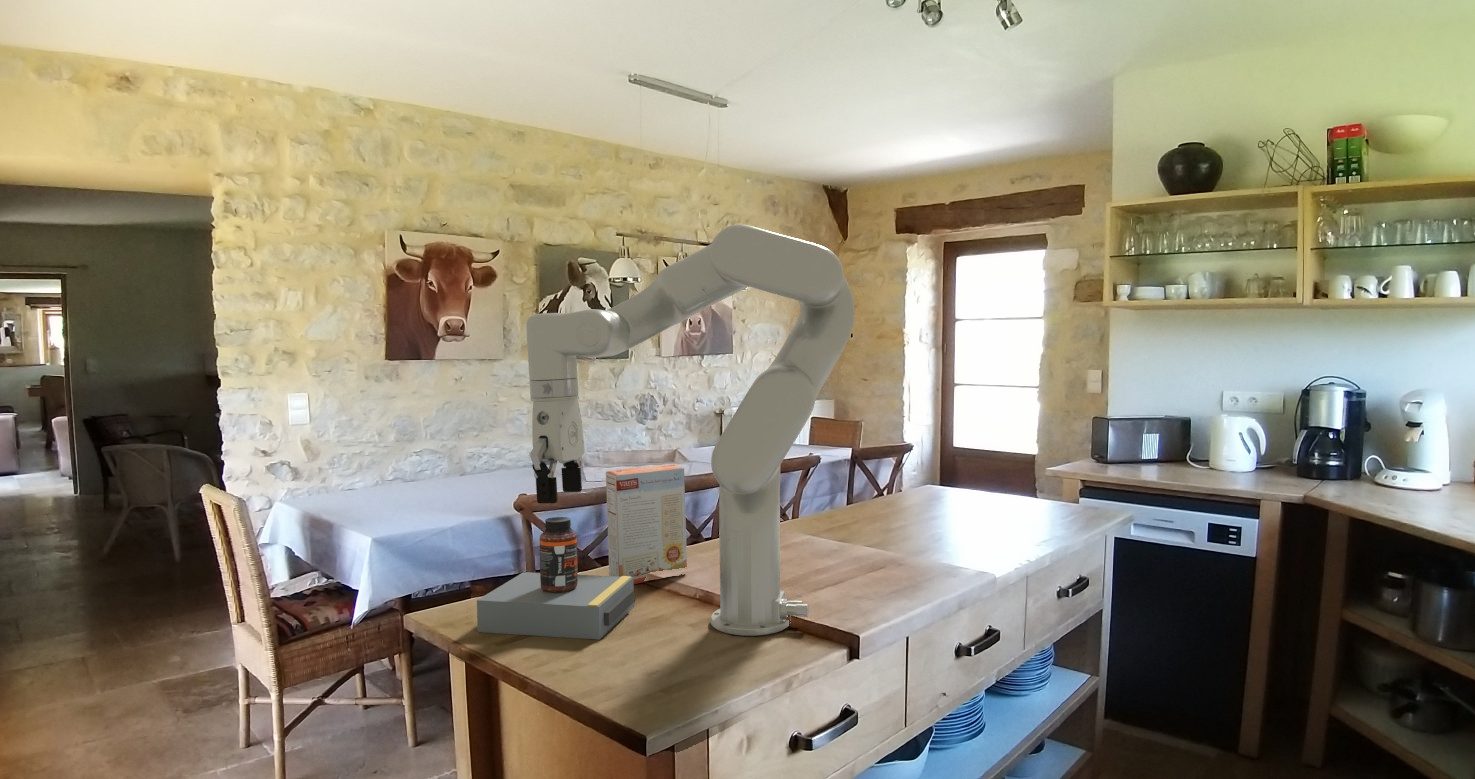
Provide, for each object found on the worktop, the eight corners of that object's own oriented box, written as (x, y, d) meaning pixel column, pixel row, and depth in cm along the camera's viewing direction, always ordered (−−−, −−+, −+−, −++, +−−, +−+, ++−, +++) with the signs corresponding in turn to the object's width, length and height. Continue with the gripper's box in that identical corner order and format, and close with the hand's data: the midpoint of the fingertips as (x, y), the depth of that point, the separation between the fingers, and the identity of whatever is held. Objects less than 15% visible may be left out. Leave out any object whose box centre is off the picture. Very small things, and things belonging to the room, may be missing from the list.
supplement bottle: (570, 594, 131) (568, 523, 131) (534, 593, 132) (532, 522, 132) (583, 583, 137) (581, 515, 137) (549, 582, 138) (547, 514, 138)
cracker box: (674, 568, 164) (672, 463, 163) (688, 576, 159) (686, 467, 158) (607, 579, 157) (604, 469, 156) (619, 587, 152) (616, 473, 151)
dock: (638, 606, 141) (637, 576, 140) (604, 639, 125) (603, 605, 125) (524, 600, 145) (523, 570, 145) (477, 631, 129) (476, 598, 129)
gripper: (553, 393, 124) (560, 507, 125) (596, 386, 141) (601, 487, 142) (507, 395, 125) (513, 508, 126) (554, 388, 142) (560, 487, 143)
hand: (560, 497), depth 134 cm, fingers open, 9 cm apart
